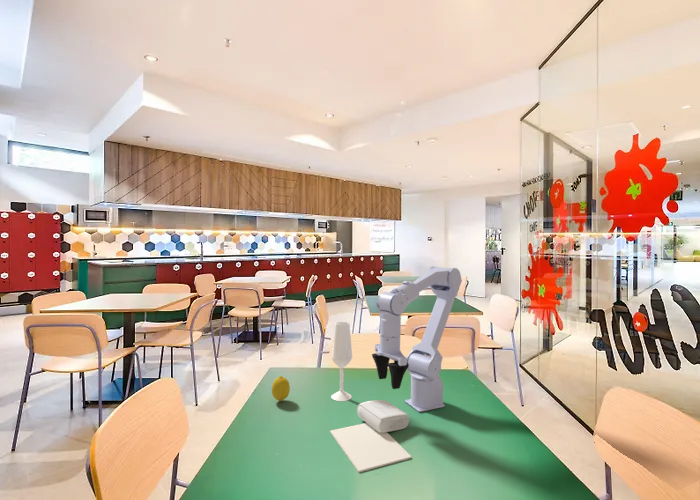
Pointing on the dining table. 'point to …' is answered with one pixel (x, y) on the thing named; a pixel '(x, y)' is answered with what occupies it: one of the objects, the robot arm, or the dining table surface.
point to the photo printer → (382, 415)
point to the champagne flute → (341, 355)
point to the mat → (368, 447)
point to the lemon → (280, 388)
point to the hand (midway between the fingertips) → (389, 383)
